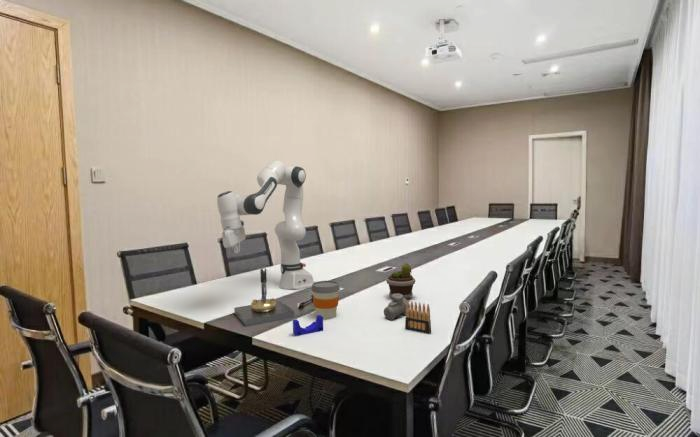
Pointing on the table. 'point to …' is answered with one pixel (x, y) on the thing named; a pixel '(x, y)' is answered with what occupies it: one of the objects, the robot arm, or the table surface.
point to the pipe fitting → (396, 306)
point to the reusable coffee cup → (325, 298)
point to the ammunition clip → (418, 318)
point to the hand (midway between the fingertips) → (237, 252)
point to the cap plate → (263, 314)
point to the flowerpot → (401, 282)
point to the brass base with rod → (263, 297)
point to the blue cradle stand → (308, 327)
